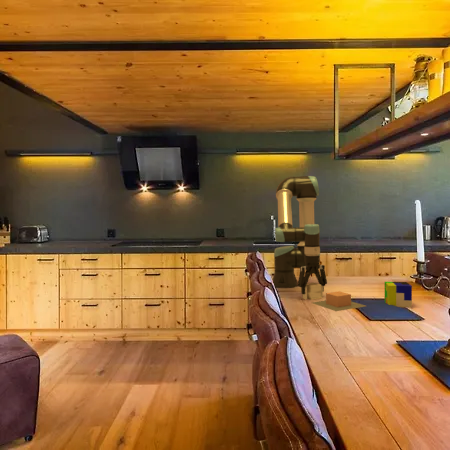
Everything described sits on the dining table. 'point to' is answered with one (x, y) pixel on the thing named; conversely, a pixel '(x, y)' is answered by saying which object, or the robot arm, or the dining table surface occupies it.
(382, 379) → the dining table surface
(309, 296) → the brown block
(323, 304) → the olive square panel
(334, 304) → the base block
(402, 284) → the puzzle toy
